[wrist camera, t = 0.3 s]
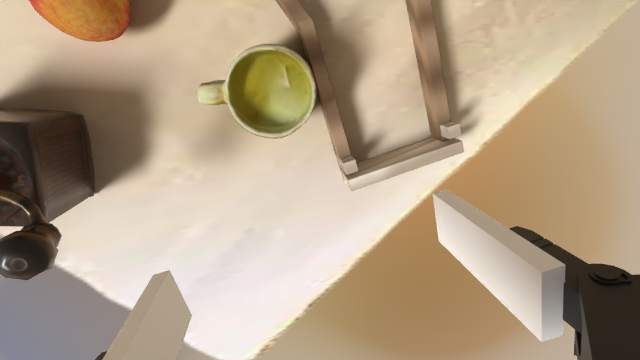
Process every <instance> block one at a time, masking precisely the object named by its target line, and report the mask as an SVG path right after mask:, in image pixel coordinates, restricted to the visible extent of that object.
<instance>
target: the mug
mask: <svg viewBox="0 0 640 360" xmlns="http://www.w3.org/2000/svg"><path fill="white" fill-rule="evenodd" d="M316 93H317V92H316V83H315V79H314V75H313V72H312V70H311V68H310V66H309V64H308V63H307V62H306V61H305V60H304V59H303V58H302V57H301V56H300V55H299V54H298V53H297V52H295V51H293V50H291V49H289V48H287V47H285V46H281V45H276V44H263V45H257V46H254V47H251V48H249V49H247V50H245V51H244V52H243V53H241V54H240V55H239V56H238V57H237V58H236V59H235V60H234V61H233V63H232V64H231V66H230V68H229V71H228V74H227V78H226V80H217V81H212V82H208V83H202V84H201V85H200V86H199V88H198V90H197V100H198V102H199V103H201V104H210V105H220V104H223V103H225V104H228V106H229V109H230V111H231V113H232V115H233V117H234V118H235V120H236V121H237V122H238V123H239V124H240V125H241V126H242V127H243V128H244V129H246V130H247V131H249V132H251V133H252V134H254V135H257V136H260V137H264V138H283V137H286V136H288V135H290V134H292V133H293V132H295V131H296V130H297V129H298V128H300V127H301V126H302V125H303V124H304V123H305V122H306V121H307V120H308V118H309V117H310V115H311V113H312V111H313V108H314V106H315V102H316Z"/></svg>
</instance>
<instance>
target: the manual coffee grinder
mask: <svg viewBox="0 0 640 360" xmlns="http://www.w3.org/2000/svg"><path fill="white" fill-rule="evenodd" d="M90 196H94V170H93V162H92V154H91V146H90V138H89V135H88V131H87V128H86V124H85V121H84V117H83V115H79V114H75V113H70V112H61V111H49V110H33V109H7V108H0V226H24V227H23V228H22V230H21V231H15V232H13V233H11V234H9V235H7V236H5V237H3V238H2V239H0V274H2V275H3V276H4V277H5V278H13V279H21V280H28V279H30V278H32V277H34V276H35V275H37V274H39V273H41V272H44V271H46V270H49V269H51V268H52V267H53V265H54V262H55V259H56V256H57V253H58V249H57V248H56V247H57V246H58V244H59V241H60V239H61V234H60V232H59V230H58V229H57V228H56V227H55V226H54V225H52V224H50V223H49V222H50V221H52V220H54V219H55V218H57V217H58V216H60V215H62V214H63V213H65V212H66V211H68V210H69V209H71V208H73V207H74V206H76V205H77V204H79V203H80V202H82V201H84V200H85V199H87V198H88V197H90Z"/></svg>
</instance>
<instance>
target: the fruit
mask: <svg viewBox="0 0 640 360" xmlns="http://www.w3.org/2000/svg"><path fill="white" fill-rule="evenodd" d="M29 1H30V3H31V4H32V6H33V7H34V9H35V10H36V11H37V12H38V13H39V14H40V15H41V16H42V17H43V18H44V19H46V20H47V21H48V22H49V23H51V24H52V25H53V26H55V27H56V28H58V29H59V30H61V31H62V32H64V33H66V34H68V35H71V36H73V37H75V38H78V39H81V40H85V41H96V42H100V41H108V40H114V39H116V38H118V37H120V36H121V35H122V34H123V33H124V31H125V30H126V28H127V26H128V24H129V18H130V7H129V0H29Z"/></svg>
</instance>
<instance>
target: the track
mask: <svg viewBox="0 0 640 360" xmlns="http://www.w3.org/2000/svg"><path fill="white" fill-rule="evenodd" d="M276 1H277V3H278V4H279V6H280V7H281V8H282V10H283V11H284V13H285V14H286V16H287V17H288V18H289V20H290V21H291V23H292V24H293V25H294V27H295V28H296V30H297V31H298V33H299V35H300V39H301V42H302V45H303V49H304V52H305V55H306V58H307V62H308V64H309V66H310V68H311V70H312V72H313V75H314V79H315V83H316V91H317V95H318V98H319V101H320V104H321V108H322V111H323V114H324V118H325V121H326V124H327V128H328V131H329V134H330V137H331V141H332V144H333V147H334V151H335V154H336V157H337V160H338V164H339V167H340V170H341V174H342V177H343V180H344V181H345V182H346V184H347V185H348V187H349V188H350V190H351V191H354V190H357V189H360V188H362V187H365V186H368V185H371V184H374V183H377V182H380V181H382V180H385V179H388V178H391V177H394V176H397V175H400V174H403V173H405V172H408V171H411V170H414V169H417V168H420V167H423V166H425V165H428V164H431V163H434V162H437V161H440V160H443V159H445V158H448V157H451V156H454V155H457V154H460V153H463V152H464V149H463V142H462V141H461V140H458V139H455V137H458V136H460V135H461V129H460V124H459V123H455V122H451V120H450V114H449V108H448V102H447V95H446V89H445V83H444V77H443V71H442V65H441V59H440V53H439V47H438V41H437V35H436V29H435V23H434V17H433V11H432V5H431V0H406V4H407V10H408V15H409V20H410V26H411V31H412V36H413V41H414V47H415V52H416V57H417V62H418V68H419V73H420V78H421V84H422V89H423V94H424V99H425V105H426V110H427V115H428V121H429V126H430V131H431V136H432V138H429V139H426V140H423V141H421V142H418V143H415V144H412V145H409V146H406V147H403V148H400V149H397V150H395V151H392V152H389V153H386V154H383V155H380V156H377V157H374V158H371V159H369V160H366V161H363V162H360V163H357V164H356V161H355V159H354V158H353V157H352V156H351V153H350V149H349V146H348V142H347V139H346V135H345V132H344V128H343V125H342V121H341V118H340V115H339V111H338V108H337V104H336V101H335V97H334V94H333V90H332V87H331V83H330V80H329V76H328V73H327V69H326V66H325V62H324V59H323V55H322V52H321V48H320V45H319V41H318V38H317V34H316V31H315V27H314V24H313V20H312V18H310V17H309V15H308V14H307V13H306V11H305V10H304V8H303V7H302V5H301V4H300V2H299V1H298V0H276Z"/></svg>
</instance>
